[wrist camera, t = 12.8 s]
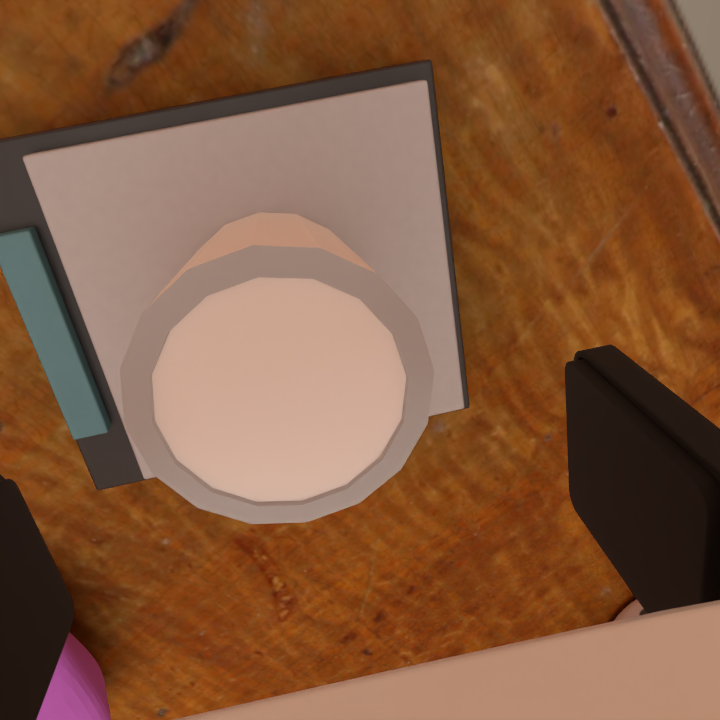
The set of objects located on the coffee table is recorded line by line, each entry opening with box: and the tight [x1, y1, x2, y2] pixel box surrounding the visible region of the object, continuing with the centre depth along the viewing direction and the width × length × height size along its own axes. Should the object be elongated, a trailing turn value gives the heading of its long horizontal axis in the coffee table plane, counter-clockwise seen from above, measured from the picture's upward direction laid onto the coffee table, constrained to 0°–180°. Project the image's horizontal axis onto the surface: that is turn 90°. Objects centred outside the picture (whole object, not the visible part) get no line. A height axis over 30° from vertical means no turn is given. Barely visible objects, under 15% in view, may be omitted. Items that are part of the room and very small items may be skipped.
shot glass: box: [120, 212, 434, 524], centre depth 17 cm, size 7×7×7 cm
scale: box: [0, 60, 469, 490], centre depth 22 cm, size 14×12×3 cm
